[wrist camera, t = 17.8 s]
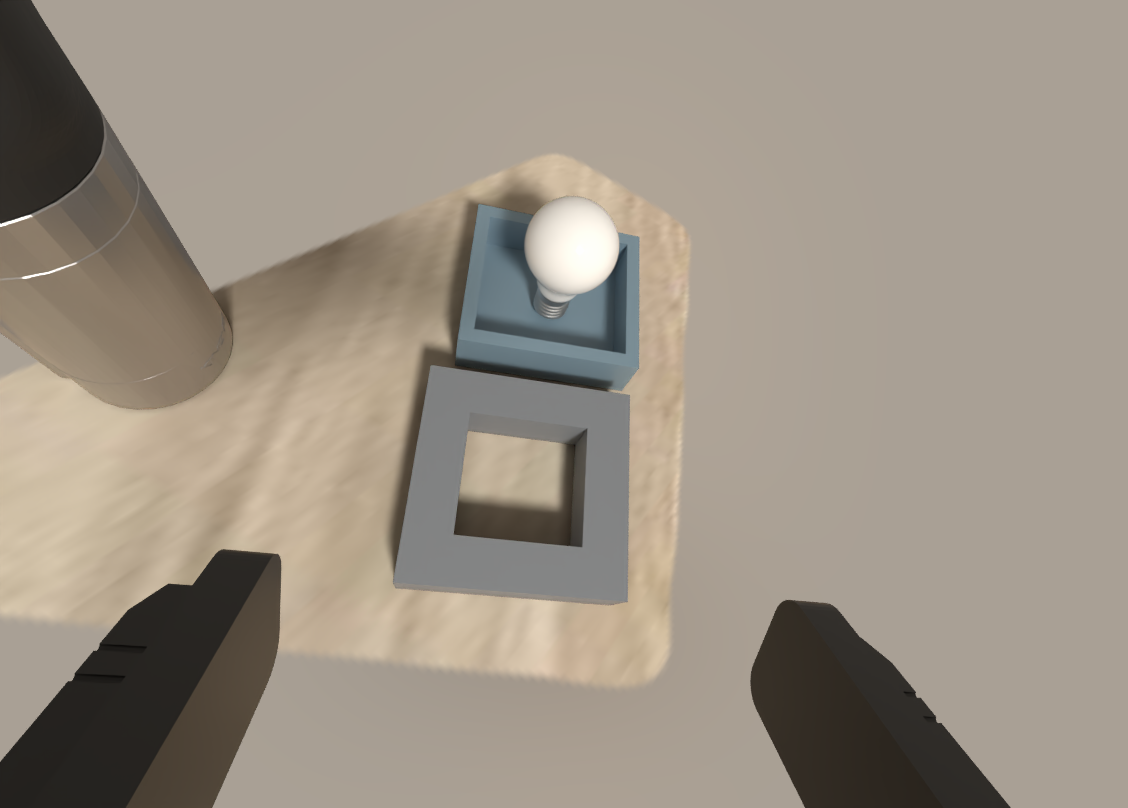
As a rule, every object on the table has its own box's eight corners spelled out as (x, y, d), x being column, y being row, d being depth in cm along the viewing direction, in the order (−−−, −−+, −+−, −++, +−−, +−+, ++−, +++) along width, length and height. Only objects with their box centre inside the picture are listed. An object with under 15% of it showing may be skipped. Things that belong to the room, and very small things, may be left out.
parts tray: (454, 365, 42) (457, 339, 38) (474, 237, 47) (478, 203, 43) (621, 390, 44) (638, 368, 41) (623, 266, 49) (639, 236, 45)
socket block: (395, 588, 35) (393, 582, 32) (430, 386, 41) (430, 364, 38) (610, 605, 38) (627, 601, 34) (614, 413, 43) (629, 395, 40)
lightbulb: (543, 262, 46) (576, 158, 36) (602, 311, 46) (651, 219, 36) (492, 307, 43) (511, 207, 34) (553, 359, 43) (592, 274, 33)
